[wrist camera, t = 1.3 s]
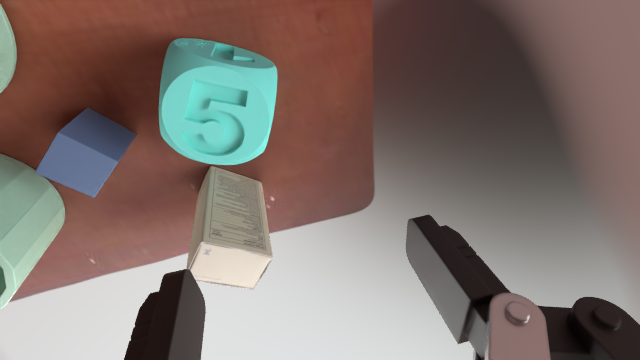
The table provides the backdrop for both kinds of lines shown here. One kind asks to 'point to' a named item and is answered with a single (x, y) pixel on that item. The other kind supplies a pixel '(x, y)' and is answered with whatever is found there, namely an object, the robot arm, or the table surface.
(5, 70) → the lid
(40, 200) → the pot
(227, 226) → the cosmetic box
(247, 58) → the decorative dice
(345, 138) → the table surface
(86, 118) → the block
